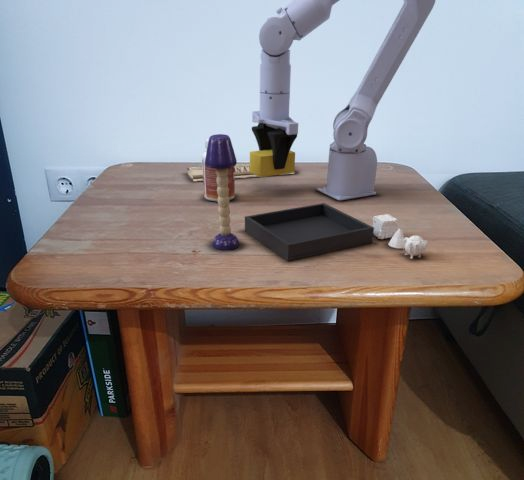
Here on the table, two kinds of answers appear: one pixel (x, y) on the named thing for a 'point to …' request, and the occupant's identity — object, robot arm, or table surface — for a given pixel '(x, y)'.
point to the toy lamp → (222, 186)
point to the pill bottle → (211, 177)
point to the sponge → (269, 163)
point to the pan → (308, 231)
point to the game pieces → (397, 235)
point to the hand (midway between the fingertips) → (273, 165)
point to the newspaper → (239, 172)
